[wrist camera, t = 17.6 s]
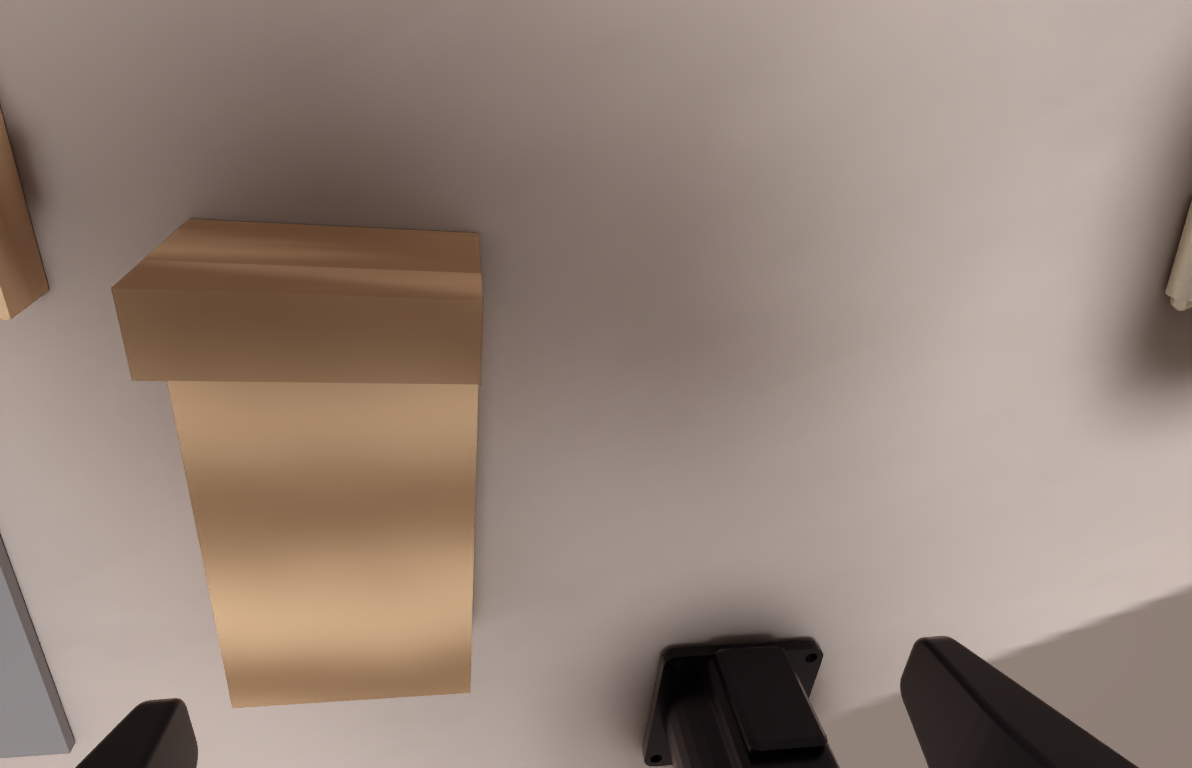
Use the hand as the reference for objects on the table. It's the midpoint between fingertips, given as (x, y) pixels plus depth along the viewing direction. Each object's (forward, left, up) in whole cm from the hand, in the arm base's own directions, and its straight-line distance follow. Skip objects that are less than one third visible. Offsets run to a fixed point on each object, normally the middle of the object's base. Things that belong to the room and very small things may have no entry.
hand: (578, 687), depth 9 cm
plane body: (-5, +5, -13) cm, 15 cm away
